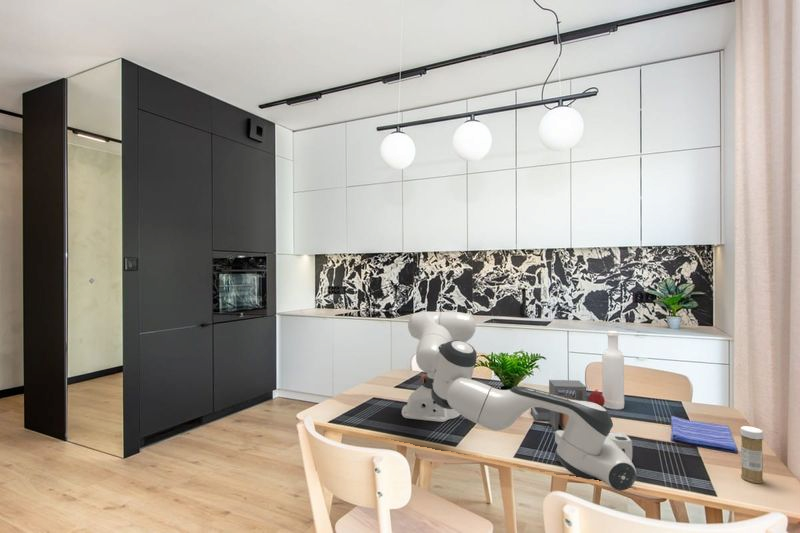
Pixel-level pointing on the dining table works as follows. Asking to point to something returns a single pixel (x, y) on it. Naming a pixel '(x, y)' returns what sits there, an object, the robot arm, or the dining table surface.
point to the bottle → (613, 374)
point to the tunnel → (565, 385)
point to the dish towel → (702, 434)
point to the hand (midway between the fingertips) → (583, 430)
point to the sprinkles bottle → (751, 454)
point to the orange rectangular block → (564, 415)
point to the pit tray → (541, 414)
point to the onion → (596, 398)
